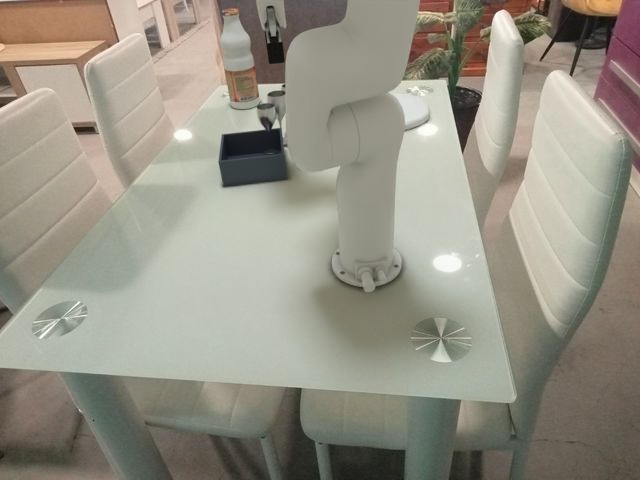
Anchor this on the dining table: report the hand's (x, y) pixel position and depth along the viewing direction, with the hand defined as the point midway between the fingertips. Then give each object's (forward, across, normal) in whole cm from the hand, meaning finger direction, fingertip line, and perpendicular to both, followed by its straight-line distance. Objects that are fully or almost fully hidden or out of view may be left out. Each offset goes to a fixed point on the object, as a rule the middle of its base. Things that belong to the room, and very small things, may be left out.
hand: (275, 56), depth 100 cm
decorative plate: (+27, +27, -30) cm, 49 cm away
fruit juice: (+27, +49, +11) cm, 57 cm away
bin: (+27, +5, +8) cm, 29 cm away
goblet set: (+27, +22, -3) cm, 35 cm away
